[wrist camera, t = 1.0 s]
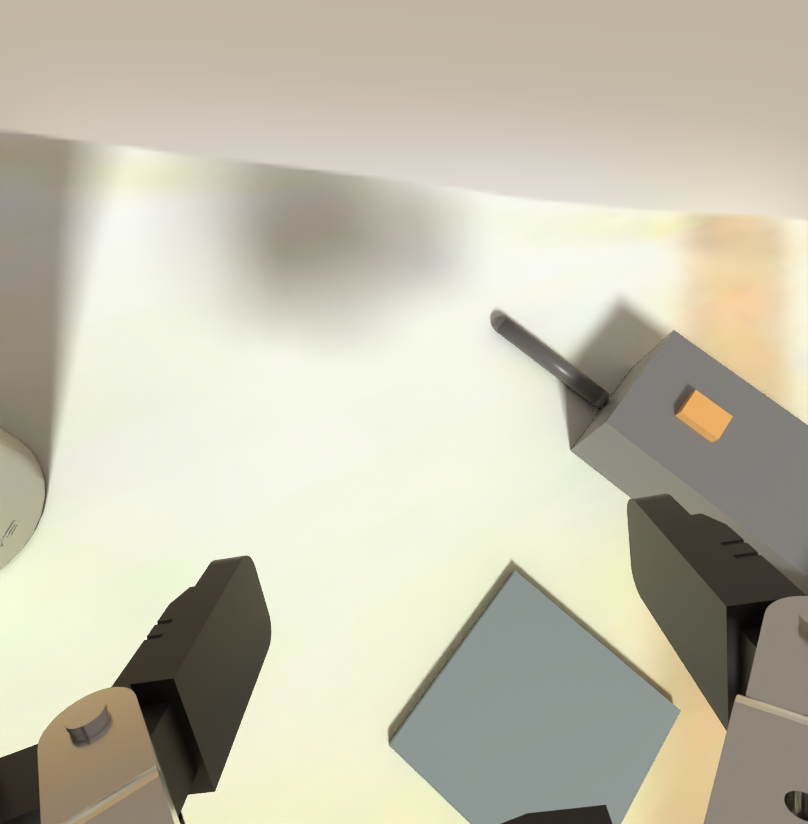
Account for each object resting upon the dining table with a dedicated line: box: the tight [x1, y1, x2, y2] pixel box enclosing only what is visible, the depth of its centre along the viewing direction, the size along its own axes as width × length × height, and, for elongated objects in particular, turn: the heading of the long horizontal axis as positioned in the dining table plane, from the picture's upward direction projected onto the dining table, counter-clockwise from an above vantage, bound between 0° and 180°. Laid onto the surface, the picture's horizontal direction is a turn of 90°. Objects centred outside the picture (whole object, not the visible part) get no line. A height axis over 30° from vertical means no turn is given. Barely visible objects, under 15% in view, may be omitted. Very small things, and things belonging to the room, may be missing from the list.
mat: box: [389, 571, 681, 824], centre depth 28 cm, size 11×11×1 cm
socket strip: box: [493, 315, 808, 596], centre depth 32 cm, size 29×8×6 cm, turn 50°
